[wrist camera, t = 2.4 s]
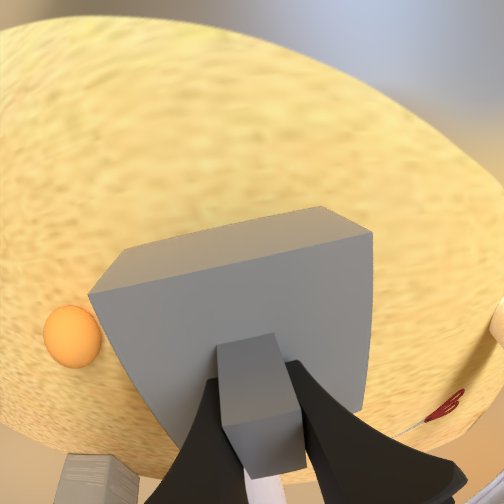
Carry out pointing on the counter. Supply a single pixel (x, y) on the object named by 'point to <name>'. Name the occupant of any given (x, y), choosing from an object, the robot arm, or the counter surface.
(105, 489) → the skincare box
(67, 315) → the ball
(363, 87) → the counter surface
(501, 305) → the foam cup
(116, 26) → the counter surface
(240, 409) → the grey stemmed block
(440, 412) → the scissors
